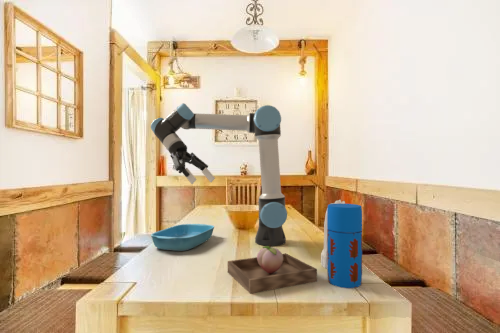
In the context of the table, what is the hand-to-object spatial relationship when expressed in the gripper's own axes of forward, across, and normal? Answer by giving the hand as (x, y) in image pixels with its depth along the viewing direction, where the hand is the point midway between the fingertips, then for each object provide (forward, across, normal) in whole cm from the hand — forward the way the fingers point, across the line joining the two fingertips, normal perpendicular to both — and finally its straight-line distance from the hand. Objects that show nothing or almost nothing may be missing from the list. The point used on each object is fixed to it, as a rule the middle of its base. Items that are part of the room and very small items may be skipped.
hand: (203, 181), depth 129 cm
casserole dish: (+8, -14, -38) cm, 41 cm away
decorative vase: (+59, -12, +14) cm, 62 cm away
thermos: (+63, +3, +18) cm, 66 cm away
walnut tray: (+46, +10, +2) cm, 47 cm away
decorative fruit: (+46, +9, +2) cm, 47 cm away
